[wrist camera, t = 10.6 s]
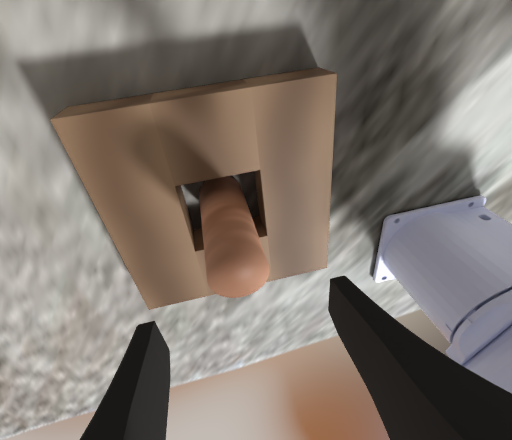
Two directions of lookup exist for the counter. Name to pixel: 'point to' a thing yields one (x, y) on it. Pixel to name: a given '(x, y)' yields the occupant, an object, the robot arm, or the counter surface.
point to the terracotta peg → (230, 240)
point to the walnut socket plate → (208, 172)
